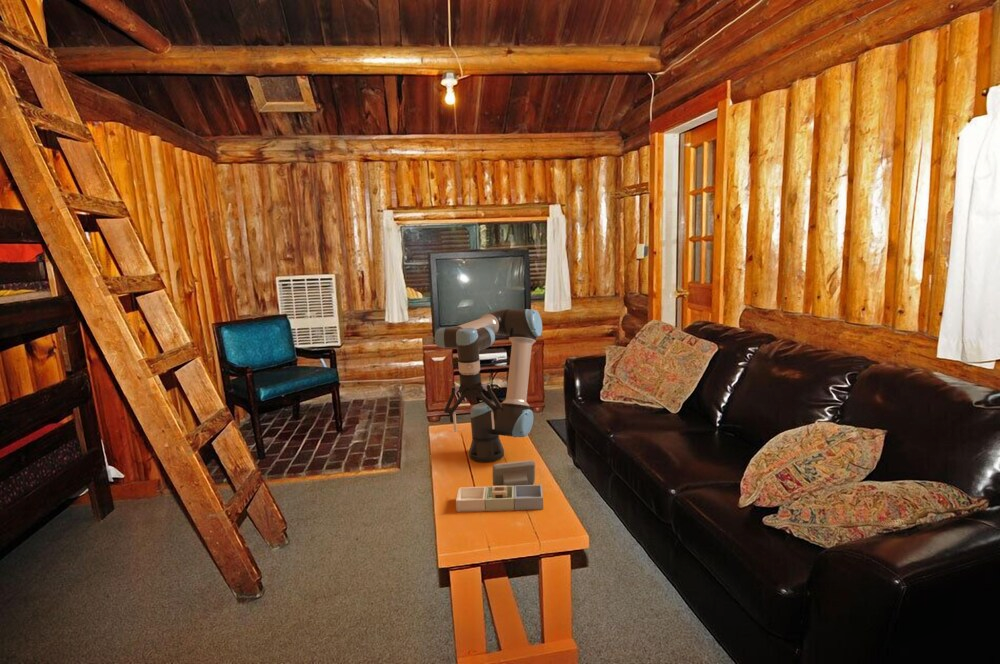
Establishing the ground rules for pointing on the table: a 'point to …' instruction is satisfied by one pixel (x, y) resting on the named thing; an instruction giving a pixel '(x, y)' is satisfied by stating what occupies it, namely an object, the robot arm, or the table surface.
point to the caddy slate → (528, 497)
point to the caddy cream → (471, 499)
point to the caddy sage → (499, 500)
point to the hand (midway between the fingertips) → (474, 429)
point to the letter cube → (499, 492)
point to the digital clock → (514, 473)
